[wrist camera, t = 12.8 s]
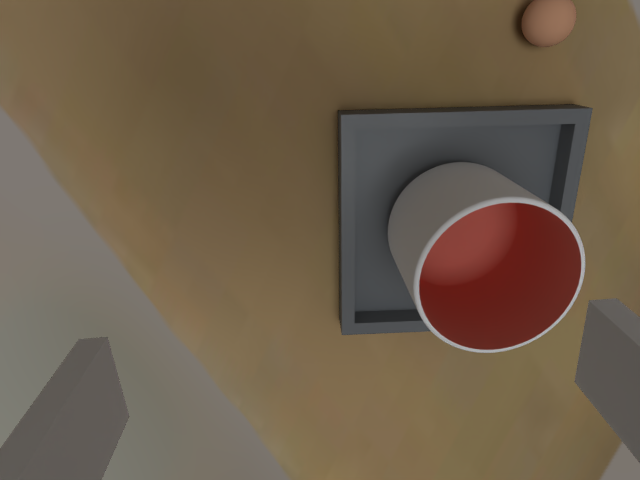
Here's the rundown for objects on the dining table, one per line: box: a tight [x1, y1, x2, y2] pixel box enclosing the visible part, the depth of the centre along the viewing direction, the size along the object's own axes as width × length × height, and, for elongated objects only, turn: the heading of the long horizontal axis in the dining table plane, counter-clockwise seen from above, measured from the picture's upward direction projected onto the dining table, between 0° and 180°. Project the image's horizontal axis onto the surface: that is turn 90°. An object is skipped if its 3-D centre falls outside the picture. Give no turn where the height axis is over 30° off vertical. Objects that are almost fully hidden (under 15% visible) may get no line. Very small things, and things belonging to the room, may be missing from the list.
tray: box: [338, 104, 593, 335], centre depth 37 cm, size 17×17×2 cm
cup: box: [388, 162, 585, 353], centre depth 33 cm, size 10×10×10 cm
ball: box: [521, 0, 576, 47], centre depth 31 cm, size 3×3×3 cm
